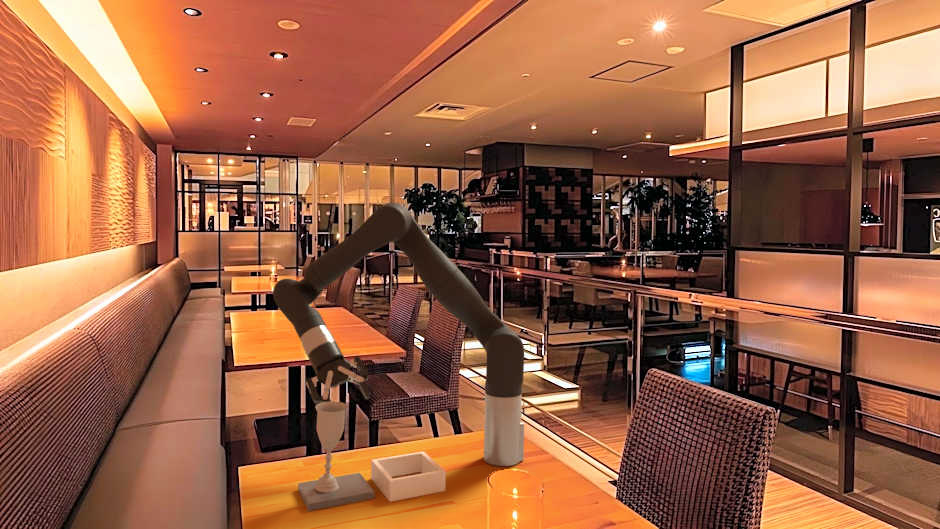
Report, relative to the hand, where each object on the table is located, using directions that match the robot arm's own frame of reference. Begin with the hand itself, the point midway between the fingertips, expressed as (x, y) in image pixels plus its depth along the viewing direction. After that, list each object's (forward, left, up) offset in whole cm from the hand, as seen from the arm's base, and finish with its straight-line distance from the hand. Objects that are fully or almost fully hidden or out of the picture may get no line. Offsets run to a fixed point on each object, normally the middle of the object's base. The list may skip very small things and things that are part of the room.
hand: (351, 406), depth 143 cm
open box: (-10, +12, -16) cm, 22 cm away
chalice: (+8, +9, -15) cm, 19 cm away
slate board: (+6, +10, -16) cm, 20 cm away
